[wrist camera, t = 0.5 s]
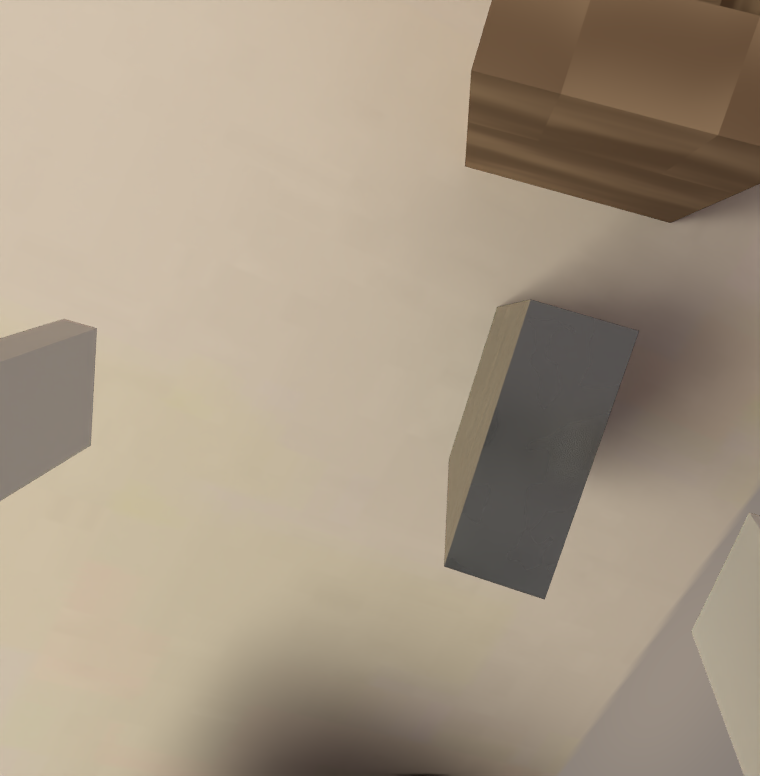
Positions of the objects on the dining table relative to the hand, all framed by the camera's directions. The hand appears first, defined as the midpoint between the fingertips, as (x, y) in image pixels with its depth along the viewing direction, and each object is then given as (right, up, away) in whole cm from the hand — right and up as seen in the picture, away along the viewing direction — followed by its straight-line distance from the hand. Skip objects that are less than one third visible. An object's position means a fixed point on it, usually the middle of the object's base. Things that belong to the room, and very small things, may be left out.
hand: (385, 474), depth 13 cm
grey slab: (+6, +1, +19) cm, 20 cm away
